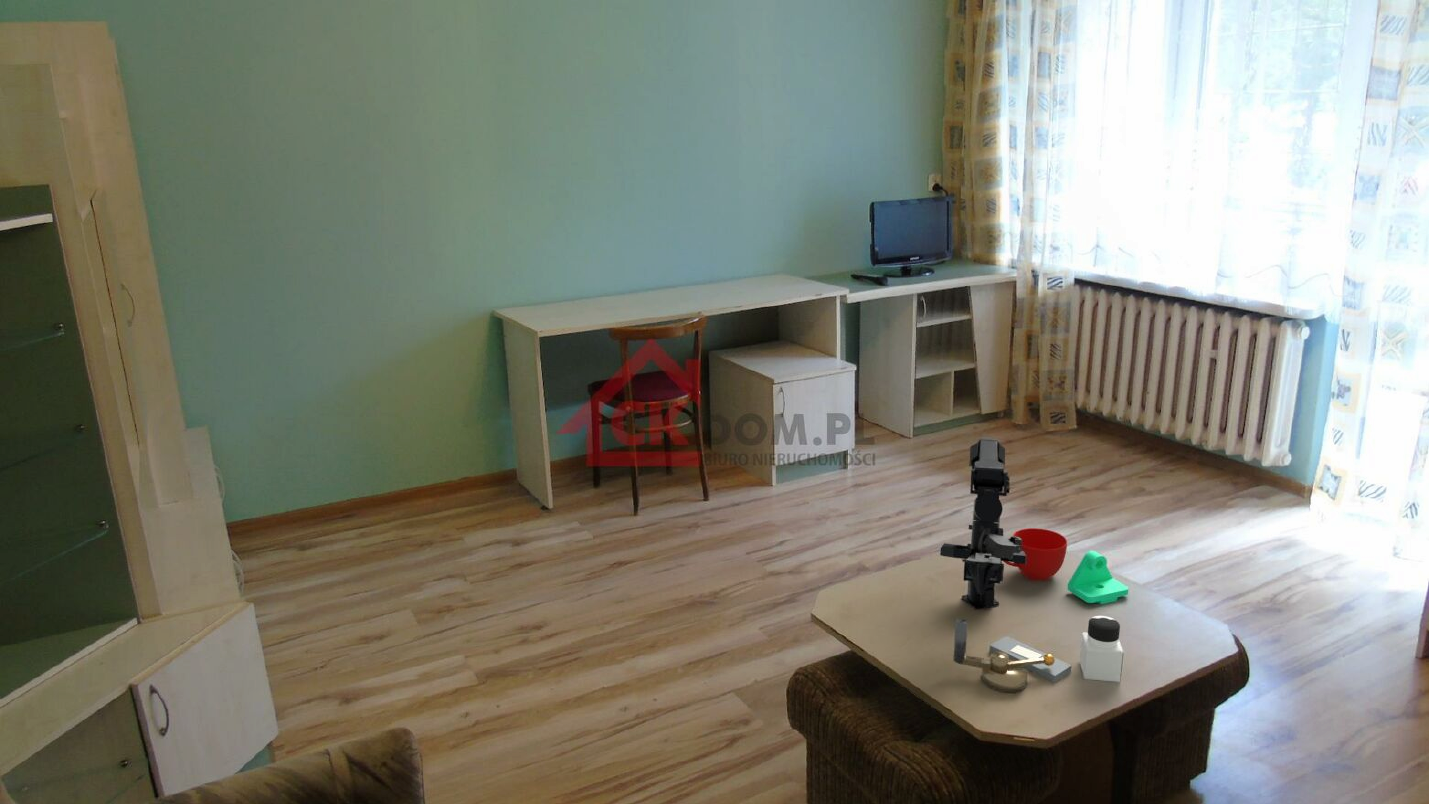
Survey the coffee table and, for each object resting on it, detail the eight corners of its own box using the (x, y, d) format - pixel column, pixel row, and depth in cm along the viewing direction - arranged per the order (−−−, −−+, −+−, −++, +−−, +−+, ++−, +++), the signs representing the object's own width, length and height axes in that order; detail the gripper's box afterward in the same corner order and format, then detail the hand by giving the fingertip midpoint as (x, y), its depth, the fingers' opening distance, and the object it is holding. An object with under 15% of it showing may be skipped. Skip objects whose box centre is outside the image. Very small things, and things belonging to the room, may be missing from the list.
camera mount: (1088, 607, 234) (1091, 568, 231) (1066, 593, 241) (1070, 554, 238) (1129, 598, 238) (1133, 559, 235) (1107, 584, 245) (1111, 546, 242)
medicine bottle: (1120, 682, 204) (1126, 630, 200) (1084, 679, 205) (1089, 627, 201) (1114, 664, 210) (1119, 613, 207) (1079, 661, 212) (1083, 610, 208)
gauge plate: (989, 651, 216) (990, 644, 216) (1006, 641, 220) (1006, 635, 219) (1054, 682, 204) (1055, 675, 204) (1071, 671, 208) (1071, 664, 207)
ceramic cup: (986, 569, 254) (988, 533, 251) (1045, 561, 258) (1048, 525, 255) (1012, 592, 242) (1015, 554, 239) (1074, 583, 246) (1078, 546, 243)
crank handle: (1053, 670, 208) (1058, 620, 204) (1049, 700, 198) (1054, 648, 194) (958, 653, 215) (960, 605, 212) (949, 681, 205) (952, 631, 201)
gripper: (971, 520, 207) (965, 595, 206) (1045, 528, 213) (1039, 601, 212) (941, 517, 218) (935, 589, 216) (1012, 524, 224) (1007, 594, 222)
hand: (980, 593), depth 216 cm, fingers closed
